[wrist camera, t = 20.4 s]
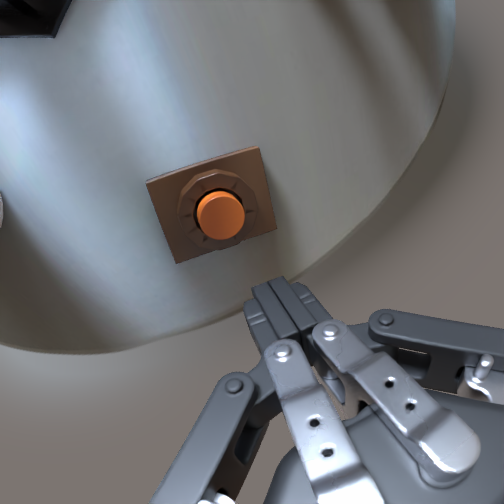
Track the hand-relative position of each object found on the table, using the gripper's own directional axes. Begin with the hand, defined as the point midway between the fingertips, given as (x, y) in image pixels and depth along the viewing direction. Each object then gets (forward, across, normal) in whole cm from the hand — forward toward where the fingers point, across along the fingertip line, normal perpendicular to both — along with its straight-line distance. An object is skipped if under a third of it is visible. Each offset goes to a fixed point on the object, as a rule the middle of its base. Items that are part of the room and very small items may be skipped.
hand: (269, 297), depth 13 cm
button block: (+15, 0, 0) cm, 15 cm away
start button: (+13, 0, 0) cm, 13 cm away
